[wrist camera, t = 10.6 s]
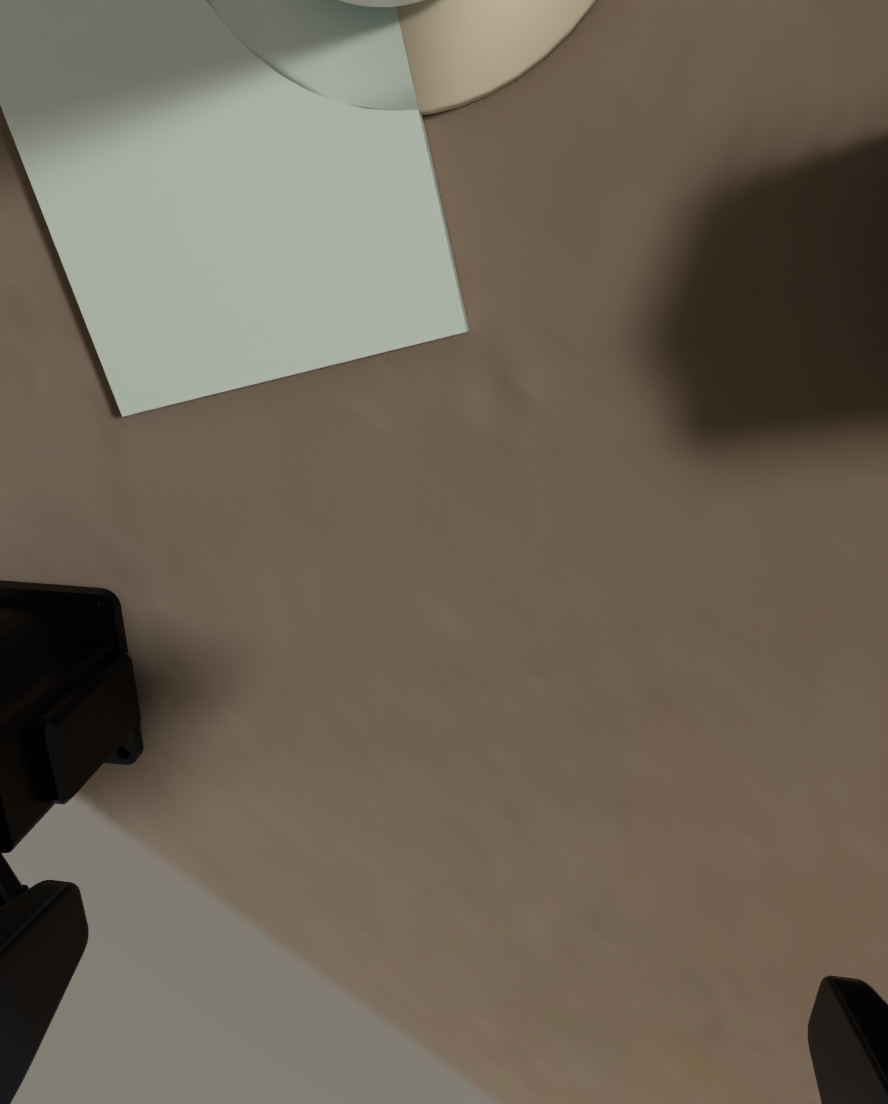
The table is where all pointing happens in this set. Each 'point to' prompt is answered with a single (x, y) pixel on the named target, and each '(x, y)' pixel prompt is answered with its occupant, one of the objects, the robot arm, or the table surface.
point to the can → (381, 2)
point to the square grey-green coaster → (229, 186)
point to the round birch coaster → (472, 45)
